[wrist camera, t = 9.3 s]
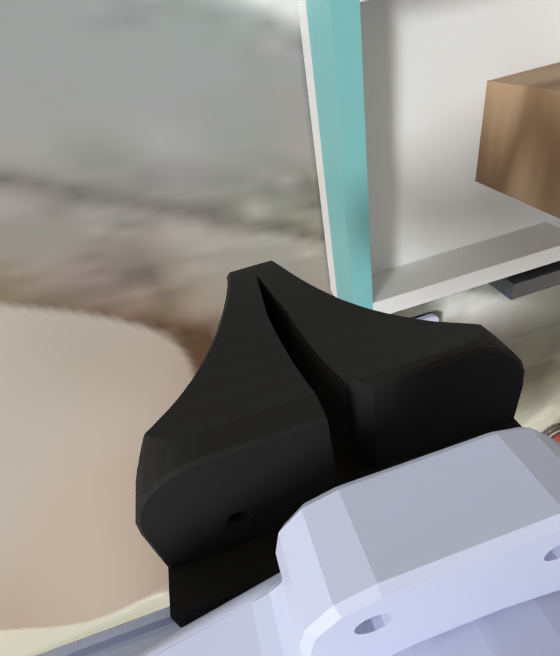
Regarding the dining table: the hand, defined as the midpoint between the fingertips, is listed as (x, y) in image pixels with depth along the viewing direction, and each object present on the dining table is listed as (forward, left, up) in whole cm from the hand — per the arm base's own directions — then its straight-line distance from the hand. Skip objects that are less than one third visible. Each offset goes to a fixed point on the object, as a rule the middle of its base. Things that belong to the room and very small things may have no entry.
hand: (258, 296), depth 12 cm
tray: (0, -12, -9) cm, 15 cm away
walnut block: (0, -15, -8) cm, 17 cm away
